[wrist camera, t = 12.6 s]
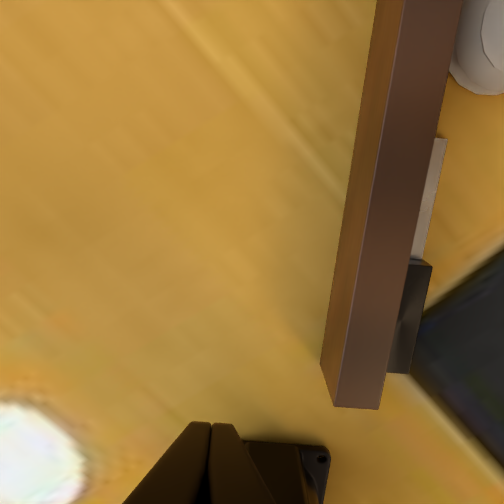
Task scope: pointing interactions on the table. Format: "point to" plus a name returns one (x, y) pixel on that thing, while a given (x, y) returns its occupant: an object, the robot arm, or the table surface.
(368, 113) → the walnut rail
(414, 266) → the letter opener
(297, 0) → the table surface
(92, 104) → the table surface
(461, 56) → the rook chess piece
